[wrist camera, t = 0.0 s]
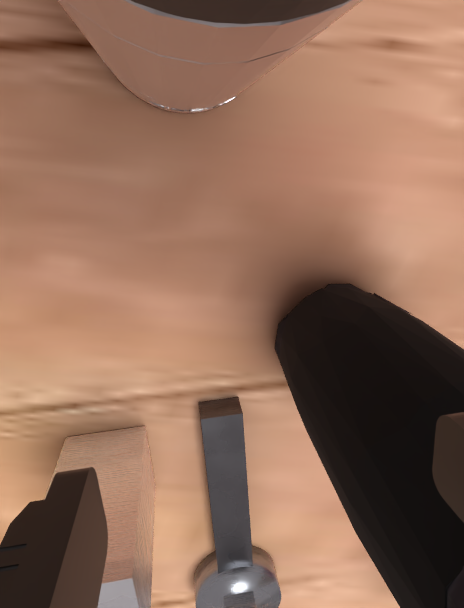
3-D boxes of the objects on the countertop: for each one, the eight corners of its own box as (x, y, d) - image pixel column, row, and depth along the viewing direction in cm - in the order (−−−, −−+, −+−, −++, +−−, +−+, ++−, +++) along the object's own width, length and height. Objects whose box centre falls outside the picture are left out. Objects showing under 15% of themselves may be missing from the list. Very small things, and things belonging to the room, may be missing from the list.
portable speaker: (327, 410, 31) (552, 792, 13) (238, 337, 27) (369, 710, 9) (414, 331, 29) (812, 634, 11) (331, 244, 26) (702, 471, 8)
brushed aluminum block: (66, 437, 28) (7, 600, 18) (145, 425, 29) (132, 578, 19) (81, 496, 30) (37, 673, 20) (155, 484, 31) (148, 651, 21)
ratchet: (168, 406, 29) (168, 475, 23) (266, 392, 29) (291, 455, 23) (198, 607, 36) (203, 699, 30) (275, 593, 37) (295, 679, 31)
